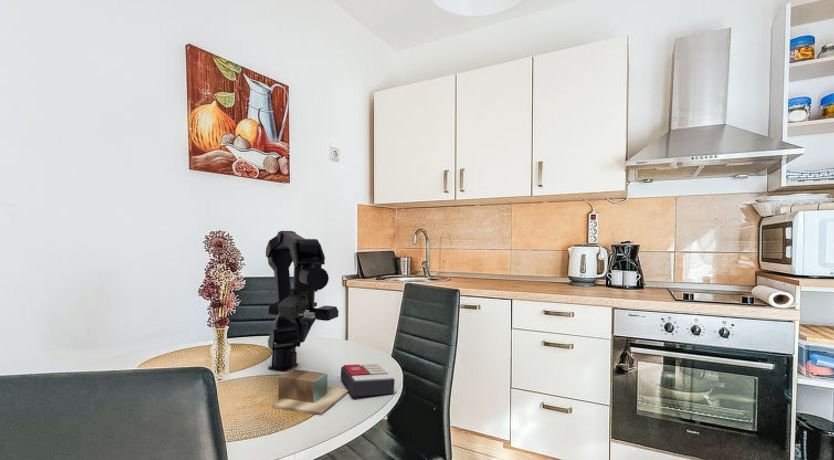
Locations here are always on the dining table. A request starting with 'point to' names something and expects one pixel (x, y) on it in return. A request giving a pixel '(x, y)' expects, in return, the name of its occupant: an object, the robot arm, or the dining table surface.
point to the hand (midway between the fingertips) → (302, 342)
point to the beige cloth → (313, 408)
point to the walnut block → (302, 385)
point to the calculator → (367, 380)
